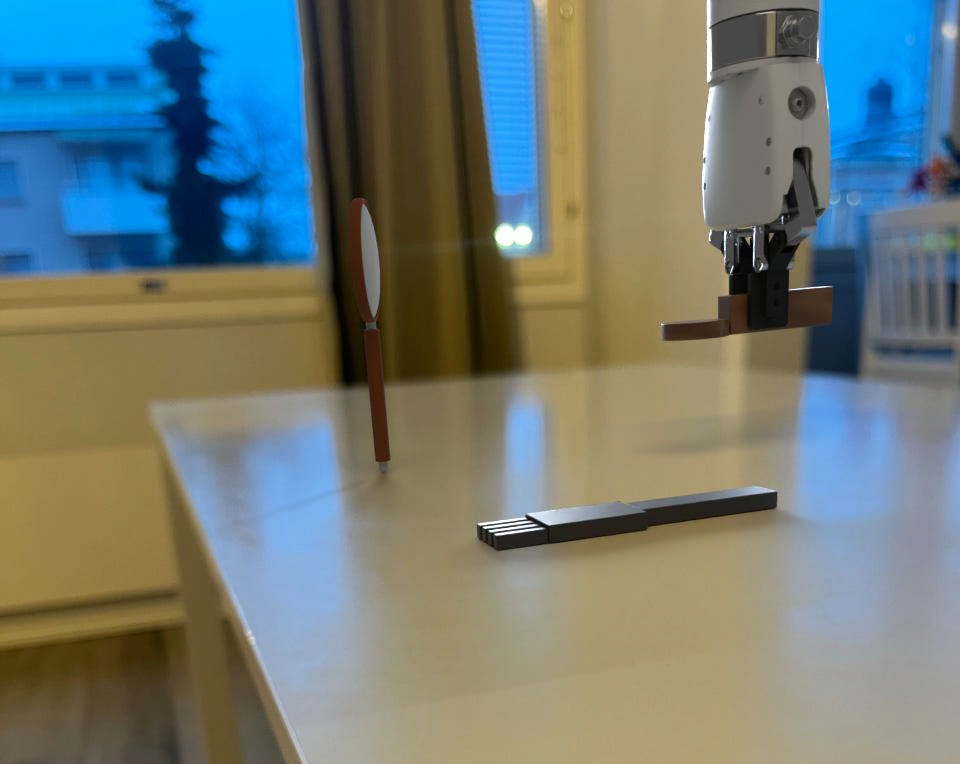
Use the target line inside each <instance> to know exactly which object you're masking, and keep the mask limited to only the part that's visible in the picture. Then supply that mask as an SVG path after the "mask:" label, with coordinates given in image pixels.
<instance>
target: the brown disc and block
mask: <svg viewBox="0 0 960 764" xmlns="http://www.w3.org/2000/svg"><path fill="white" fill-rule="evenodd" d="M833 296H834V286H833V285H830V286H829V285H828V286H813V287H812V286H811V287H803V288H801V287H800V288H793V289H792V288H791V289H790V288H789V304H788V323H787V325H786V326H785V327H777V328H767V329H758V330H751V329H749V328H748V293H747V294H736V295H729V294H727V295H718V296H717V318H702V319H701V318H700V319H690V320H689V319H688V320H676V321H668V322H663V323H660V339H661V341H663V342H684V341H686V342H687V341H698V340H711V339H720V338H726V337H729V336H733V335H742V334H743V335H744V334H752V333H753V334H755V333H761V332H764V333H765V332H771V331H772V332H773V331H782V330H791V329H800V328H811V327H819V326H828V325H832V324H833V299H834V298H833Z"/></svg>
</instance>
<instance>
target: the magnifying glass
mask: <svg viewBox="0 0 960 764" xmlns="http://www.w3.org/2000/svg"><path fill="white" fill-rule="evenodd" d="M348 249H349V251H348V252H349V261H350V270H351V271H350V272H351V279H352V286H353V292H354V296H355V302H356V306H357V308H358V312H359V315H360V317H361V319H362V321H363V322H364V323H365V329H363V330H362V331H363V340H364V341H363V342H364V351H365V362H366V363H365V364H366V373H367V383H368V385H367V386H368V394H369V395H368V396H369V403H370V404H369V405H370V417H371V428H372V441H373V449H374V461H375V462H376V463H378V471H379V472H380V473H381V474H383V475H384V474H387V473H388V471H389V470H390V469H389V462H390V461H391V449H390V448H391V447H390V439H389V438H390V437H389V426H388V415H387V414H388V413H387V403H386V391H385V380H384V379H385V378H384V369H383V367H384V366H383V356H382V346H381V334H380V333H381V332H380V328H377V323H376V322H377V321H378V319H379V315H380V308H381V269H380V256H379V249H378V241H377V235H376V229H375V225H374V219H373V215H372V211H371V208H370V205H369V203H368V201H367V200H366V199H365V198H363V197H356V198H353V200H351V202H350V206H349V212H348Z"/></svg>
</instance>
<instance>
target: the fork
mask: <svg viewBox="0 0 960 764" xmlns="http://www.w3.org/2000/svg"><path fill="white" fill-rule="evenodd" d="M777 507H778V491H777V490H774V489H769V488H766V487H762V486H759V485H753V486H752V485H751V486H743V487H736V488H730V489H720V490H715V491H706V492H700V493H699V492H698V493H692V494H691V493H690V494H684V495H677V496H670V497H662V498H653V499H647V500H639V501H631V502H622V501H619V500H618V501H617V500H616V501H611V502H603V503H602V502H601V503H595V504H594V503H593V504H589V505H579V506H571V507H564V508H556V509H549V510H542V511H541V510H540V511H534V512H527V513H525V514H524V517H519V518H518V517H517V518H511V519H503V520H502V519H501V520H496V521H495V520H494V521H488V522H481V523H476V537H477V538H478V539H479V540H482V541H483V542H484V543H486V544H488V545H489V546H491V547H493V548H494V549H495V550H497V551H501V550H508V549H516V548H522V547H528V546H536V545H542V544H543V545H544V544H548V543H549V544H554V543H560V542H567V541H574V540H575V541H576V540H580V539H581V540H582V539H589V538H595V537H603V536H609V535H610V536H611V535H616V534H623V533H629V532H637V531H645V530H648V526H649V527H650V526H657V525H663V524H664V525H665V524H670V523H677V522H684V521H692V520H698V519H705V518H706V519H707V518H712V517H713V518H714V517H718V516H719V517H720V516H726V515H734V514H740V513H741V514H742V513H747V512H748V513H749V512H754V511H756V512H757V511H762V510H769V509H775V508H777Z"/></svg>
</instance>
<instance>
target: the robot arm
mask: <svg viewBox="0 0 960 764" xmlns="http://www.w3.org/2000/svg"><path fill="white" fill-rule="evenodd" d="M819 15H820V0H706V16H707V17H706V19H707V20H706V31H707V32H706V33H707V36H706V38H707V40H706V43H707V51H706V52H707V54H706V55H707V56H706V58H707V64H706V67H707V68H706V69H707V70H706V71H707V76H706V81H707V82H706V83H707V84H706V85H707V87H709V91H708V101H707V107H706V108H707V109H706V117H705V126H704V127H705V129H704V141H703V142H704V144H703V160H702V161H703V162H702V166H703V167H702V211H703V218H704V223H705V225H706V226H707V228H709V229H710V232H709V238H708V239H709V240H708V241H709V245H711V246H713V247H714V248H716V250H718V251H720V252H721V255H722V256H723V258H724V271H725V274H726V275H728V295H736V294H747V293H748V328H749V329H751V330H758V329H767V328H777V327H785V326H786V325H787V323H788V304H789V290H790V271H791V270H792V269H794V267H795V264H796V263H795V262H796V252H797V251H798V249H799V247H800V245H801V243H802V242H804V241H805V240H806V239H807V238H808V237H810V236H811V235H812V234H813V233H814V232H815V231H816V229H817V226H818V221H817V220H819V219H821V218H822V217H823V216H824V215H825V214H826V213H827V211H828V210H829V207H830V202H831V200H830V199H831V175H832V174H831V172H832V171H831V169H832V168H831V126H830V111H829V110H830V109H829V100H828V92H827V84H826V78H825V72H824V68H823V64H822V63H821V62H818V58H819V28H820V27H819V25H820V16H819ZM772 234H773V235H772ZM770 235H772V237H771V238H770ZM748 238H749V242H748V240H747V239H748Z"/></svg>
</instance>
